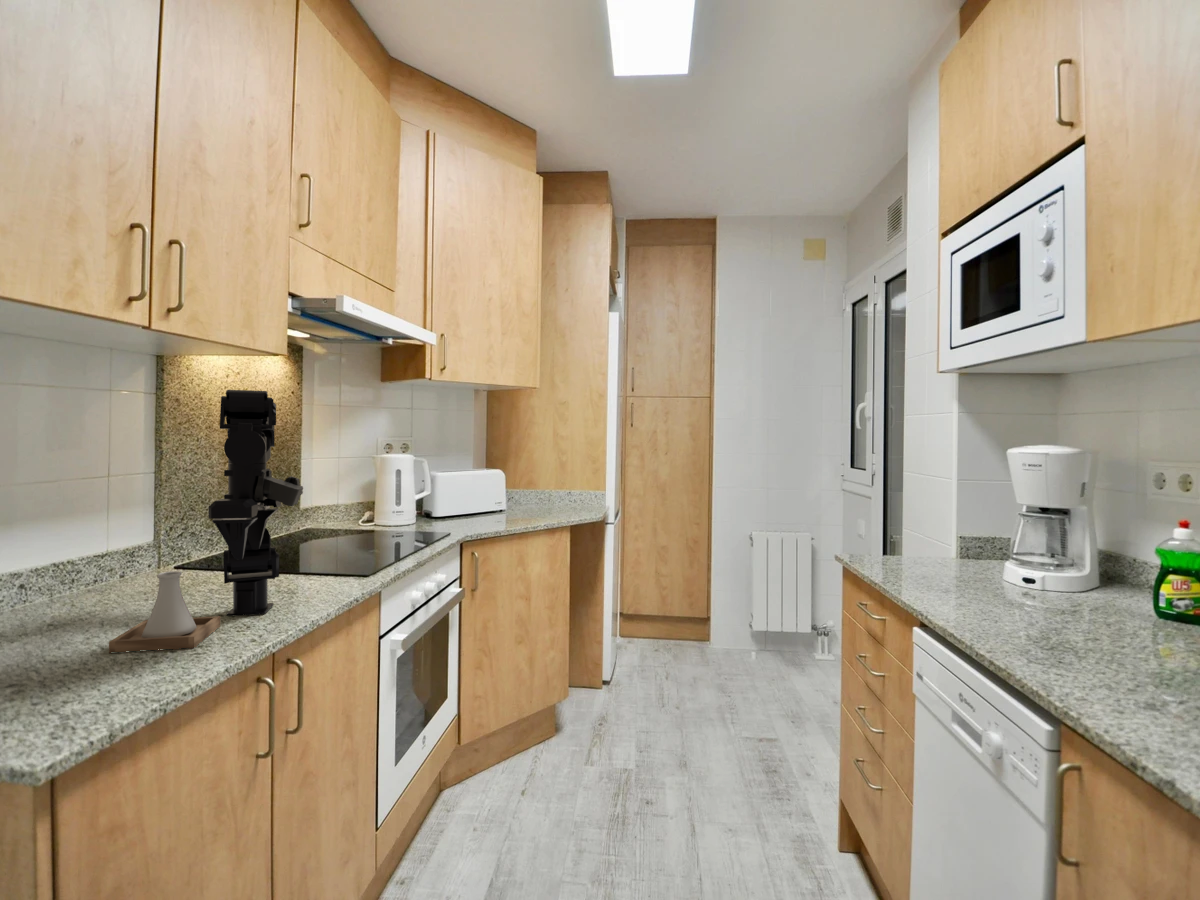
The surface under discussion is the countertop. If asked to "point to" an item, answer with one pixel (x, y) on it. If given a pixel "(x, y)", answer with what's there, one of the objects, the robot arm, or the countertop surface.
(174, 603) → the flask
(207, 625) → the walnut tray
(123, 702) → the countertop surface
